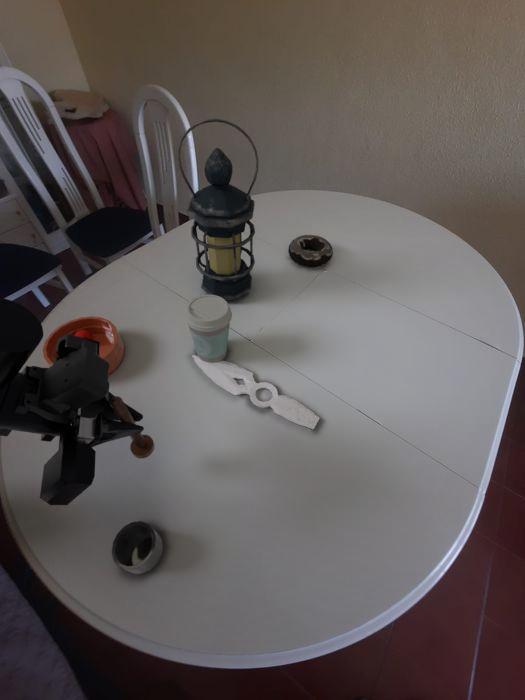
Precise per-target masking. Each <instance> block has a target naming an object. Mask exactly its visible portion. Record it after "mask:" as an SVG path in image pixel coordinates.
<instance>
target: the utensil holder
mask: <svg viewBox="0 0 525 700" xmlns="http://www.w3.org/2000/svg"><path fill="white" fill-rule="evenodd" d="M163 547H164V544H163V540H162V537H161V535H160V534H159V533H158V532H157V531H156V530H155V529H154V528H153V526H151V525H150V524H149V523H147V522H145V521H142V520H140V521H139V520H138V521H132V522H130V523H127V524H126V525H125V526H123V527H122V528H121V529H119V531H118V532H117V533H116V536H115V537H114V539H113V542H112V546H111V556H112V560H113V562H114V563H115V565H116V566H117V567H118V568H120V569H122V570H124V571H125V572H126V571H127V572H129V573H132V574H134V575H142V574H146V573H147V572H150V571H151V570H153V569H154V567H156V565H158V562H159V561H160V559H161V557H162V554H163Z"/></svg>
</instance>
